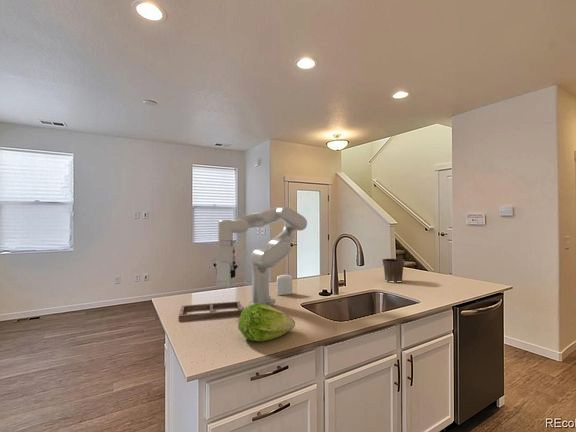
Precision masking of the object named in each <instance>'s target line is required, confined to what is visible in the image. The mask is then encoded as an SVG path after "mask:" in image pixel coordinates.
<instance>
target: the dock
mask: <svg viewBox="0 0 576 432" xmlns="http://www.w3.org/2000/svg"><path fill="white" fill-rule="evenodd" d="M228 308H237V309H236V310H235V309H233V310H222V311H214V310H216V309H228ZM179 310H180V311H179V313H178V322H185V321H186V322H187V321H197V320H207V319H210V320H211V319H218V318H219V319H221V318H229V317H240V315H241V313H242V311H243V310H244V309H243V308H242V303H241V302H240V301H227V302H214V303H213V302H212V303H200V304H189V305H187V304H186V305H181V306H180V309H179ZM202 310H203V311H204V310H209V312H197V313H186V314H185V312H190V311H191V312H192V311H202Z"/></svg>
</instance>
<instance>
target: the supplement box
mask: <svg viewBox="0 0 576 432" xmlns="http://www.w3.org/2000/svg"><path fill="white" fill-rule="evenodd" d="M232 266H233V265H232ZM231 270H232V269H231V265H230V262H217V276H216V282H215V283H216V287H219V288H220V287H223V288H230V287H231V286H233V285H234V284H235V281H236V280H235V279H236V276H235V277H234V278H231Z"/></svg>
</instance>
